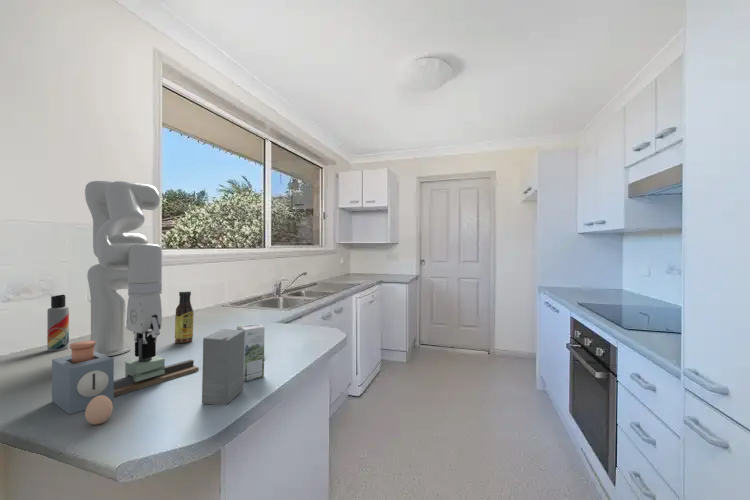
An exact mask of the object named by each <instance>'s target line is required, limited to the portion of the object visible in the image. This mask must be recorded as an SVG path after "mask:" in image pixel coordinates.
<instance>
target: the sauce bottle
mask: <svg viewBox="0 0 750 500" xmlns="http://www.w3.org/2000/svg"><path fill="white" fill-rule="evenodd" d="M178 296H179V301H178V303H179V304H178V305H177V307H176V308H175V316H174V317H175V318H174V321H175V323H174V342H175V344H185V343H190V342H192V341H193V338H194V309H193V305H192V303H191V296H192V291H190V290H185V291H184V290H183V291H179V293H178Z"/></svg>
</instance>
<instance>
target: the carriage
mask: <svg viewBox="0 0 750 500" xmlns="http://www.w3.org/2000/svg"><path fill="white" fill-rule="evenodd" d="M142 344H144V343H143V338H139V356H138V358H137V359H133V360H127V361H125V363H124V364H125V365H124V367H125V368H124V369H125V370H124V371H125V372H124V374H125V377H129V376H133V381H134V382H137V381H141V380H144V379H148V378H151V377H155V376H158V375H161V374H165V366H166V365H165V361H166V360H165V358H164V357H161V356H158V355H155V357H151V358H147V359H142ZM125 377H124V378H125Z"/></svg>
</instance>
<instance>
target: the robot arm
mask: <svg viewBox="0 0 750 500" xmlns="http://www.w3.org/2000/svg"><path fill="white" fill-rule="evenodd" d="M84 196H85V197H84V198H85V202H86V205H87V207H88V210H89V212H90V214H91V217H92V248H93V253H94V256H95V257H97V261H98V262H99V263H98V264H94V265H92V266H90V268H89V269H88V271H87V274H86V275H87V277H86V279H87V282H88V288H89V294H90V341H96V345H95V346H94V351H96V352H98V353H101V354H103V355H106V356H108V357H113V356H117V355H123V354H125V353H128V352H130V351H131V345H129V344H126V329H127V330H128V331H130V332H133V335H134V337H133V340H134V357H136V358H139V338H143V343H144V344H142V359H147V358H151V357H155V356H157V355H156V354H157V350H156V344H157V343H156V342H157V338H158V337H159V336H160V334H161V333H160V330H161V329H162V324H163V311H162V309H163V308H162V300H161V294H162V292H163V288H162V286H163V285H162V283H163V281H162V278H163V277H162V276H163V275H162V274H163V273H162V268H163V267H162V266H163V264H162V263H163V261H162V259H163V258H162V247H161V246H160V245H159V244H156V243H149V241H148V238H147V237H146V236H145V235H144V234H142V233H136V232H135V233H134V232H133V231H135V230H136V231H137V230H138V229H140V228H141V227H142V225H144V223H145V215H144V212H143V210H146V211H155V210H156V209H158V207H159V205H160V198H161V197H160V194H159V191H158V189H157V188H156V186H153V185H151V184H148V183H147V184H145V183H138V182H131V181H121V180H117V181H108V180H107V181H106V180H93V181H90V182H87V184H85V188H84ZM126 289H127V294H128V299H127V306H126V301H125V299H124V297H123V296H122V295H120V294H119V293H118V292H117V291H118V290H126Z"/></svg>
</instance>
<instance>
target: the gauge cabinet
mask: <svg viewBox="0 0 750 500" xmlns="http://www.w3.org/2000/svg"><path fill="white" fill-rule="evenodd" d="M114 363H115V360H114V358H113V357H112V356H109V357H108V356H106V355H103V354H101V353H98V352H96V351H94V359H93V360H89V361H84V362H80V363H75V364H72V354H71V355H68V356H63V357H56V358H52V359H51V402H52V403H53V404H55V405H56V406H57V407H59V408H60V409H61V410H63V411H64V412H65V413H67V414H68V415H73V414H76V413H80V412H82V411H86V408H87V406H88V404H89V402H90V401H91V400H92V399H93V398H95V397H97V396H99V395H104V396H107V397H108V398H109V399H110V400H111V401H112V402H114V401H115V398H114V380H115V378H114V376H115V375H114V374H115V371H114V369H115V368H114V367H115V366H114V365H115V364H114Z"/></svg>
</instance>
